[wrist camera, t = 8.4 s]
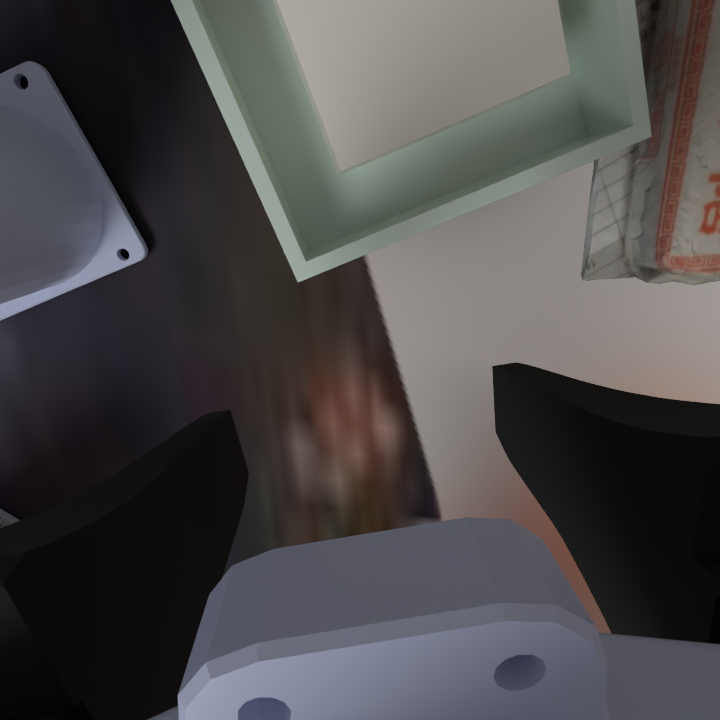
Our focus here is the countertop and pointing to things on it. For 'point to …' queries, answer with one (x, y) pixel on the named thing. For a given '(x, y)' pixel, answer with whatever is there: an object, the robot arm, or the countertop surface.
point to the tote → (424, 158)
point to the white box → (416, 65)
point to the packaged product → (665, 159)
